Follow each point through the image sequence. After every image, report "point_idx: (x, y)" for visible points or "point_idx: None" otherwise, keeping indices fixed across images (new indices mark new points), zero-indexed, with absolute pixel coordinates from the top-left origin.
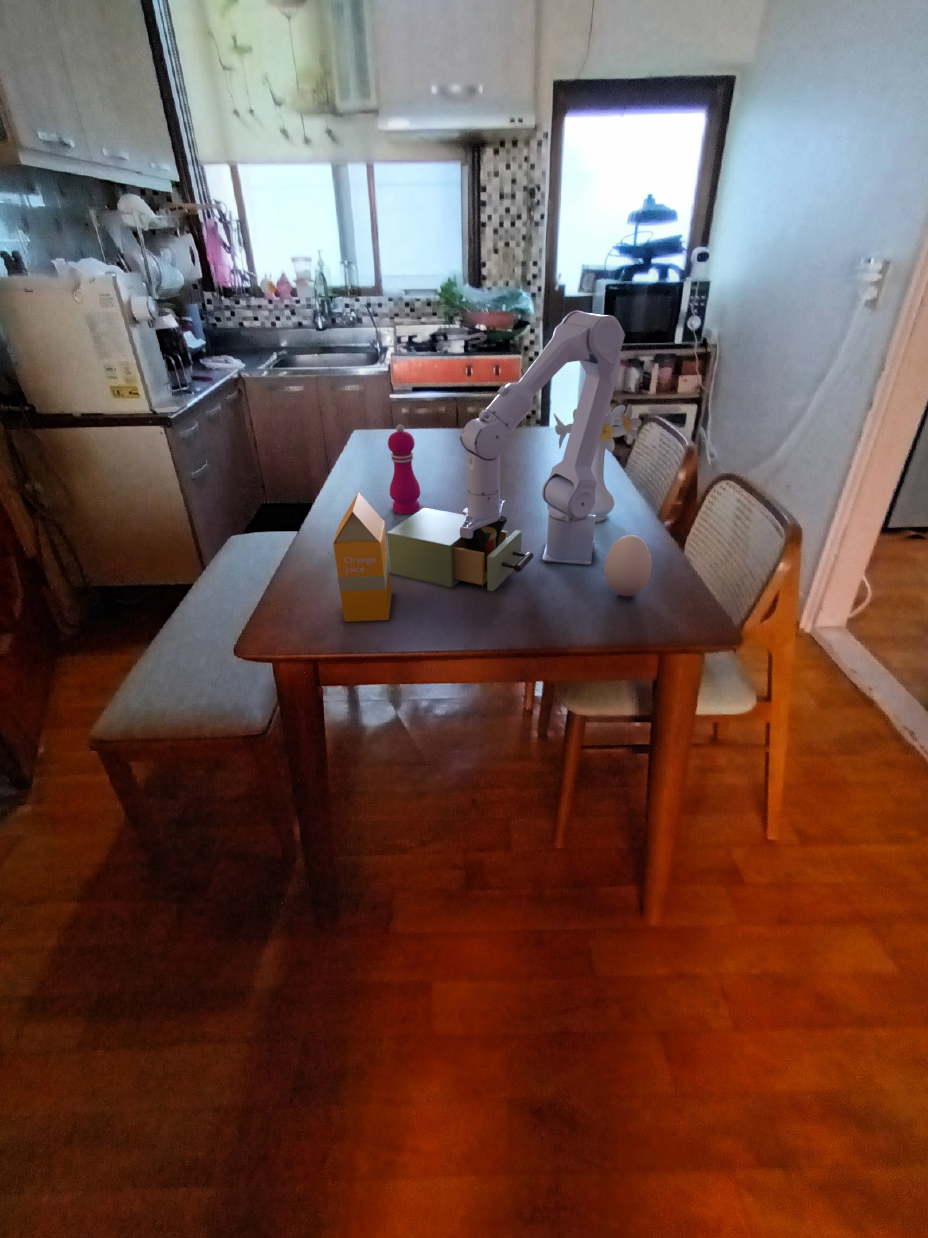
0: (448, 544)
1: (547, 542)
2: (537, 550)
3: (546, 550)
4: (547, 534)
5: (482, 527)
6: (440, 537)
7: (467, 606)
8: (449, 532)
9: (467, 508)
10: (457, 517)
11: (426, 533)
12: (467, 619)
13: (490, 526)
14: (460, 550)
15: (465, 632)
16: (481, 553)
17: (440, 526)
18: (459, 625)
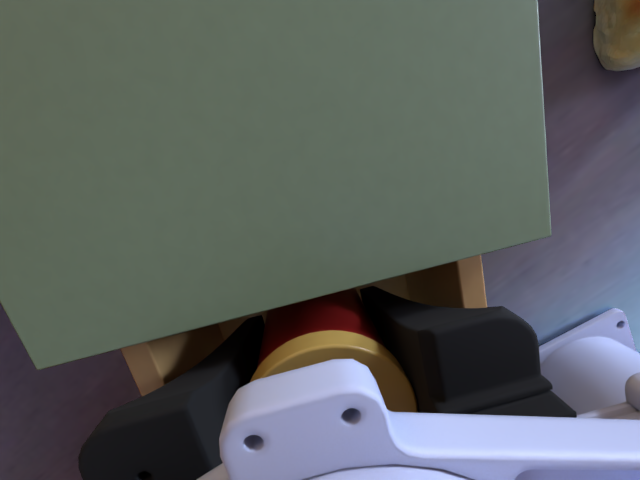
0: (36, 351)
1: (586, 383)
2: (564, 304)
3: (568, 342)
4: (622, 400)
5: (379, 378)
6: (67, 223)
7: (125, 379)
8: (189, 212)
9: (358, 409)
10: (464, 47)
11: (22, 61)
12: (73, 425)
13: (421, 411)
14: (133, 370)
15: (22, 463)
16: None
17: (224, 58)
18: (31, 430)
